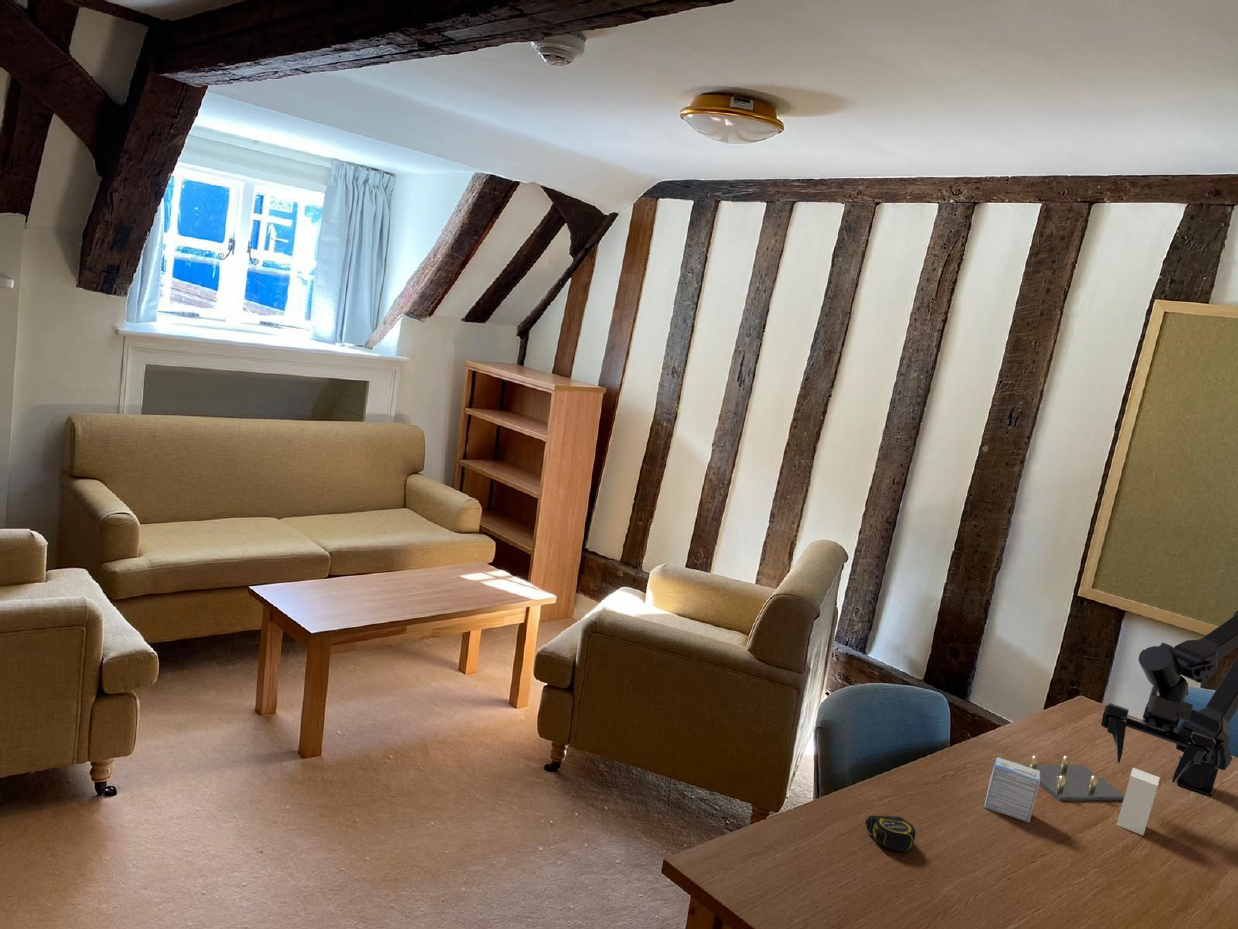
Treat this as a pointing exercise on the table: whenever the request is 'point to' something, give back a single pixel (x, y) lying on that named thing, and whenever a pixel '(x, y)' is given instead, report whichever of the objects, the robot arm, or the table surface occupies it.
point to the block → (1138, 801)
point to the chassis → (1073, 782)
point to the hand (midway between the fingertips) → (1145, 771)
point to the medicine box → (1012, 789)
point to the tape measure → (891, 832)
